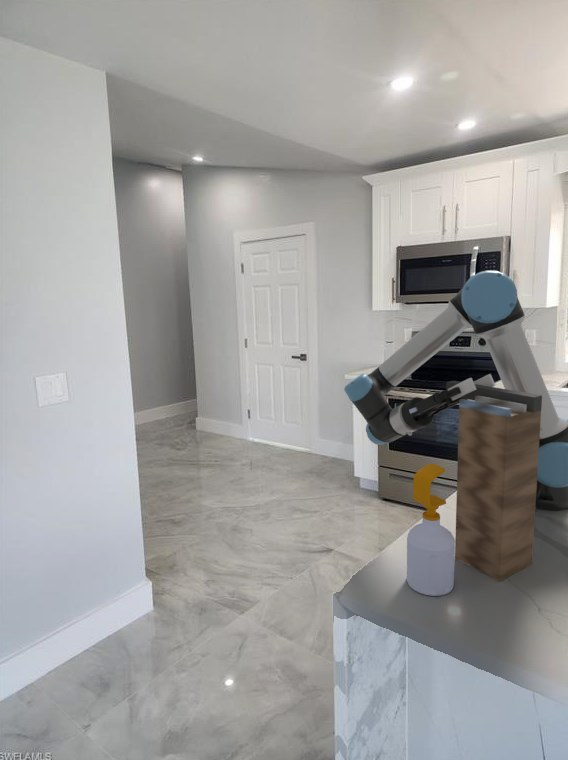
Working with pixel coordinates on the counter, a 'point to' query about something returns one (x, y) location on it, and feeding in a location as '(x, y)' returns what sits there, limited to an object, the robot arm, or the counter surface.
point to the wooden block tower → (496, 485)
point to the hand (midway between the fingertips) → (482, 381)
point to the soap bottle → (430, 541)
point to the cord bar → (503, 395)
